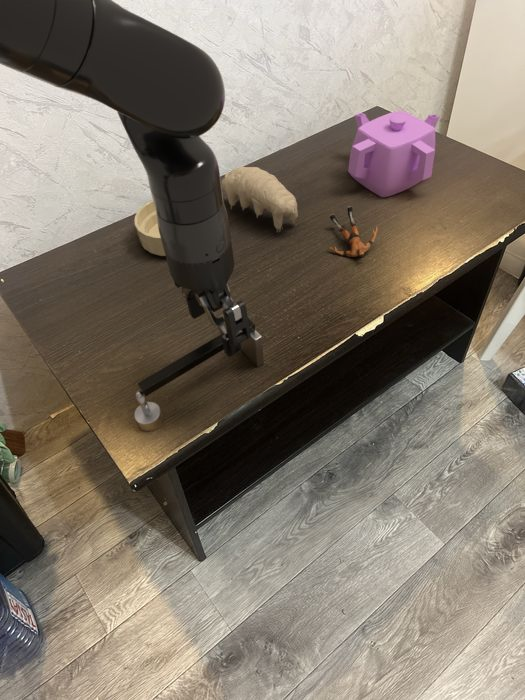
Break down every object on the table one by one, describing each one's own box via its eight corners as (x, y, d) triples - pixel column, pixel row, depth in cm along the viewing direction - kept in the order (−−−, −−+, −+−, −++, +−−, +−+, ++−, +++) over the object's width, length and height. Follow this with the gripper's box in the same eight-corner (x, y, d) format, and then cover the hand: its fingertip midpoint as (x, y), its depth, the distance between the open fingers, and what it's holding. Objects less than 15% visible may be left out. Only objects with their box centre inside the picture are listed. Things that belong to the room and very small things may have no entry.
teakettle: (345, 196, 101) (350, 138, 92) (351, 151, 112) (356, 95, 102) (431, 202, 99) (446, 143, 89) (429, 155, 109) (443, 97, 99)
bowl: (155, 268, 91) (148, 246, 87) (131, 230, 98) (125, 209, 94) (217, 243, 94) (214, 222, 90) (190, 209, 101) (186, 188, 98)
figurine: (363, 199, 92) (387, 243, 86) (365, 208, 94) (388, 251, 88) (317, 220, 93) (337, 265, 88) (319, 228, 95) (339, 272, 90)
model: (238, 192, 104) (233, 147, 96) (305, 225, 96) (306, 179, 89) (216, 208, 101) (209, 163, 93) (283, 243, 94) (282, 197, 86)
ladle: (146, 437, 70) (132, 407, 63) (132, 416, 72) (116, 385, 66) (264, 363, 76) (261, 329, 70) (247, 346, 79) (243, 312, 73)
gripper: (136, 221, 58) (165, 315, 70) (202, 289, 50) (221, 381, 63) (191, 195, 60) (209, 291, 73) (262, 256, 53) (269, 351, 65)
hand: (215, 332), depth 68 cm, fingers open, 8 cm apart
